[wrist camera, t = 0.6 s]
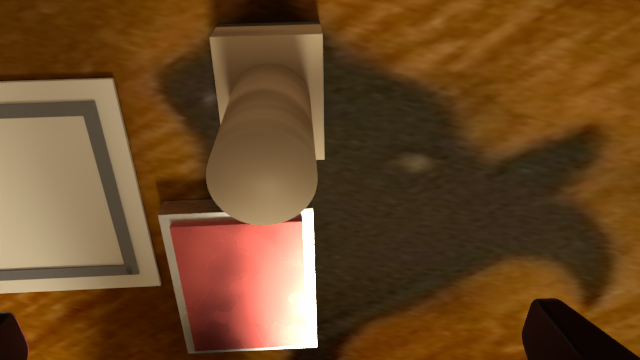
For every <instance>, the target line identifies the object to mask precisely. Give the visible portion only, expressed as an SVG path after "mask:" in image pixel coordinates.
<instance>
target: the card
mask: <svg viewBox="0 0 640 360" xmlns="http://www.w3.org/2000/svg"><path fill="white" fill-rule="evenodd" d="M147 286H161V279H160V274H159V270H158V266H157V261H156V257H155V253H154V249H153V244H152V240H151V236H150V231H149V227H148V223H147V219H146V214H145V210H144V206H143V201H142V197H141V193H140V188H139V184H138V180H137V176H136V171H135V167H134V163H133V158H132V154H131V150H130V146H129V141H128V137H127V133H126V128H125V124H124V120H123V116H122V111H121V107H120V103H119V98H118V94H117V90H116V86H115V81H114V78H87V79H55V80H24V81H0V293H20V292H41V291H62V290H83V289H104V288H125V287H147Z"/></svg>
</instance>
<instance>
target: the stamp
mask: <svg viewBox="0 0 640 360" xmlns="http://www.w3.org/2000/svg"><path fill="white" fill-rule="evenodd" d="M209 38H210V45H211V53H212V61H213V69H214V77H215V85H216V92H217V100H218V108H219V116H220V124H221V125H220V128H219V131H218V134H217V137H216V140H215V143H214V146H213V149H212V152H211V155H210V158H209V161H208V164H207V168H206V182H207V187H208V190H209V192H210V195H211V197H212V198H213V200H214V201H215V203H216V204H217V205H218V206H219V207H220V208H221V209H222V210H223V211H224V212H225V213H226V214H228V215H229V216H231V217H233V218H235V219H237V220H239V221H241V222H244V223H248V224H252V225H274V224H279V223H282V222H285V221H288V220H290V219H292V218H294V217H295V216H297V215H298V214H300V213H301V212H302V211H303V210H304V209H305V208H306V207H307V206H308V205H309V203H310V202H311V200H312V198H313V196H314V194H315V191H316V188H317V179H318V176H317V166H316V160H324V93H323V33H322V29H321V25H320V21H310V22H274V23H238V24H218V25H217V27H216V28H215V30H214V31H213V33H212V34H211V36H210V37H209Z"/></svg>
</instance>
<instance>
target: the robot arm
mask: <svg viewBox="0 0 640 360" xmlns="http://www.w3.org/2000/svg"><path fill="white" fill-rule="evenodd" d="M522 341H523V345H524V349H525V352H526V355H527V358H528V360H640V358H639V357H638V356H637V355H635V354H634V353H632V352H631V351H630V350H628V349H627V348H626V347H624V346H623V345H621V344H620V343H619V342H617V341H616V340H615V339H613V338H612V337H610V336H609V335H608V334H606V333H605V332H604V331H602V330H601V329H599V328H598V327H597V326H595V325H594V324H593V323H591V322H590V321H588V320H587V319H586V318H584V317H583V316H582V315H580V314H579V313H577V312H576V311H575V310H573V309H572V308H571V307H569V306H568V305H566V304H565V303H564V302H562V301H561V300H559V299H555V298H549V299H535V300H534V301H533V302H532V303H531V306H530V309H529V312H528V315H527V318H526V321H525V324H524V327H523V330H522ZM28 353H29V347H28V342H27V340H26V338H25V336H24V333H23V331H22V329H21V327H20V325H19V322H18V320H17V318H16V316H15V315H14V314H12V313H11V312H0V360H27V358H28Z"/></svg>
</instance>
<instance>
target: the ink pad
mask: <svg viewBox="0 0 640 360" xmlns="http://www.w3.org/2000/svg"><path fill="white" fill-rule="evenodd" d="M158 218H159V223H160V227H161V232H162V236H163V241H164V246H165V250H166V255H167V259H168V264H169V268H170V273H171V278H172V282H173V287H174V291H175V296H176V301H177V305H178V310H179V314H180V319H181V323H182V328H183V333H184V337H185V342H186V346H187V351H188V354H195V353H214V352H233V351H252V350H271V349H290V348H309V347H317V328H316V293H315V259H314V224H313V201H312V200H311V202H310V203H309V205H308V206H307V207H306V208H305V209H304V210H303V211H302V212H301V213H300V214H298V215H297V216H295V217H294V218H292V219H290V220H288V221H285V222H282V223H279V224H274V225H252V224H248V223H244V222H241V221H239V220H237V219H235V218H233V217H231V216H229V215H228V214H226V213H225V212H224V211H223V210H222V209H221V208H220V207H219V206H218V205H217V204H216V203H215V201H214V200H213V199H202V200H177V201H164V202H163V205H162V207H161V209H160V211H159V214H158Z"/></svg>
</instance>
